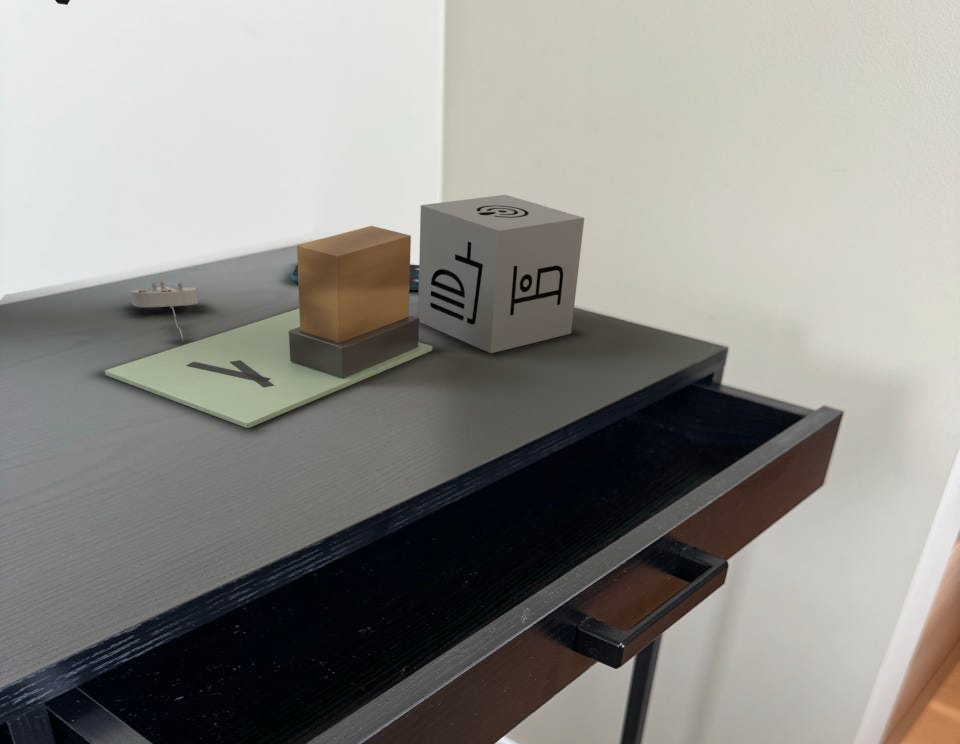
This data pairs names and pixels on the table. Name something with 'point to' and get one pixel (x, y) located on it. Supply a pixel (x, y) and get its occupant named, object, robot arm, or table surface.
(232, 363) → the marker board
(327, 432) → the table surface
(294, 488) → the table surface
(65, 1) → the robot arm
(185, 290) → the game controller
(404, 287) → the eraser
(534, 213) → the icon cube
